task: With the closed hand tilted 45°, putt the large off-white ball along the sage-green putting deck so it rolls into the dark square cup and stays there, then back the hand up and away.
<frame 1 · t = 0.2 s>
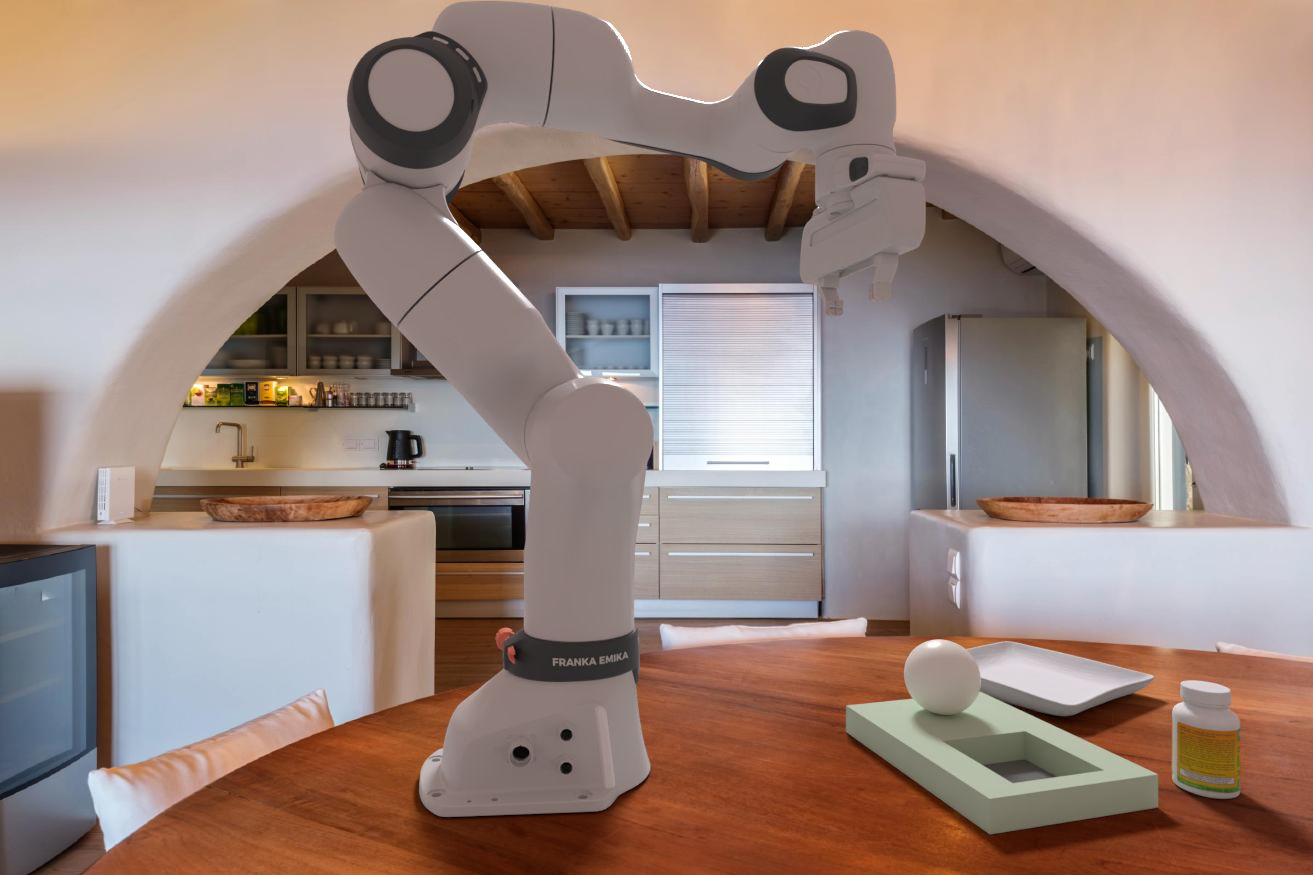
hand: (855, 309, 88), 48 cm above the table, tool pointing down, fingers open, 8 cm apart
salad plate: (1034, 693, 105), on the table
supplement bottle: (1205, 789, 75), on the table
ball: (941, 676, 87), point 7 cm above the table, touching putting deck
putting deck: (984, 765, 80), on the table
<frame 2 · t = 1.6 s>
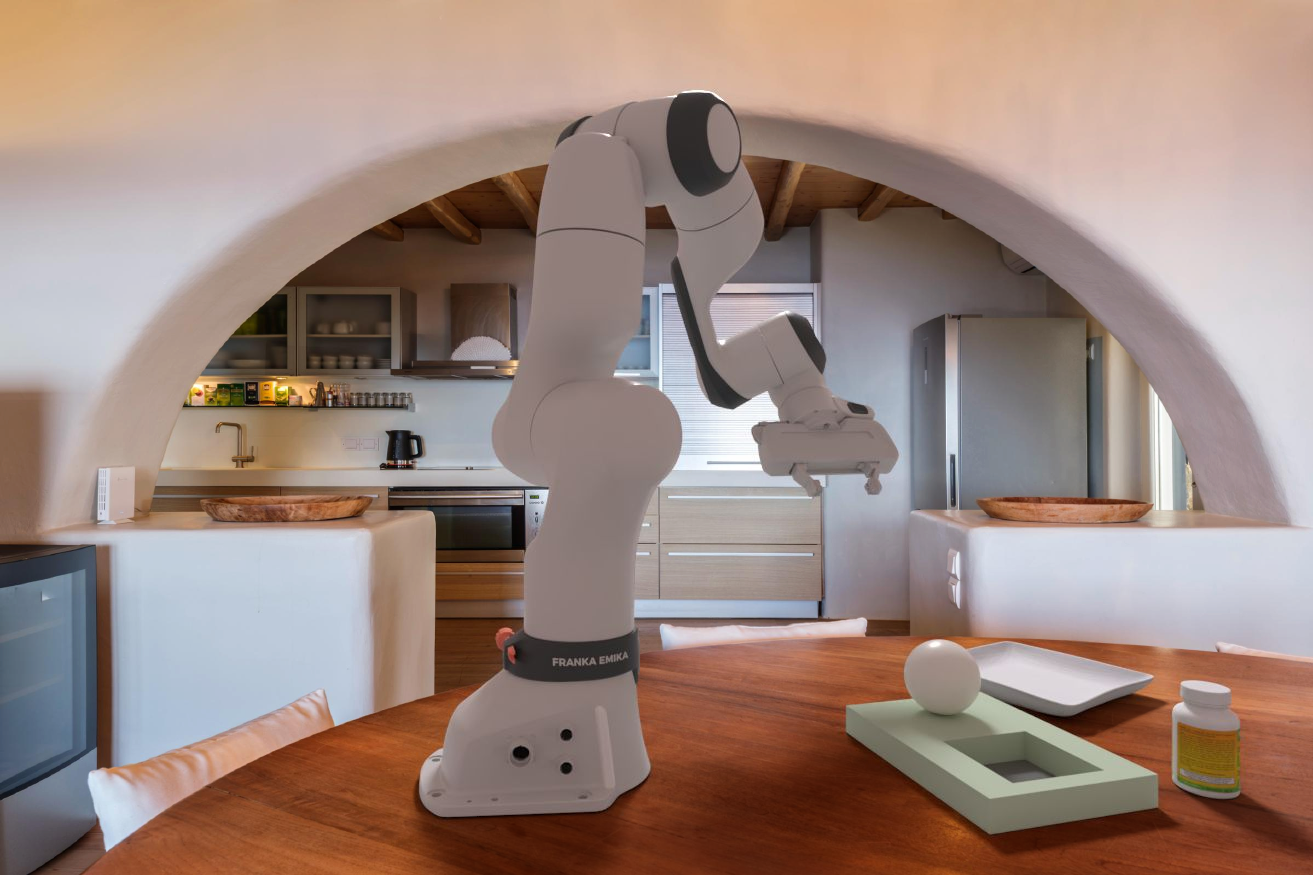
hand: (846, 493, 107), 26 cm above the table, tool tilted 45°, fingers open, 8 cm apart
nothing on the table moved.
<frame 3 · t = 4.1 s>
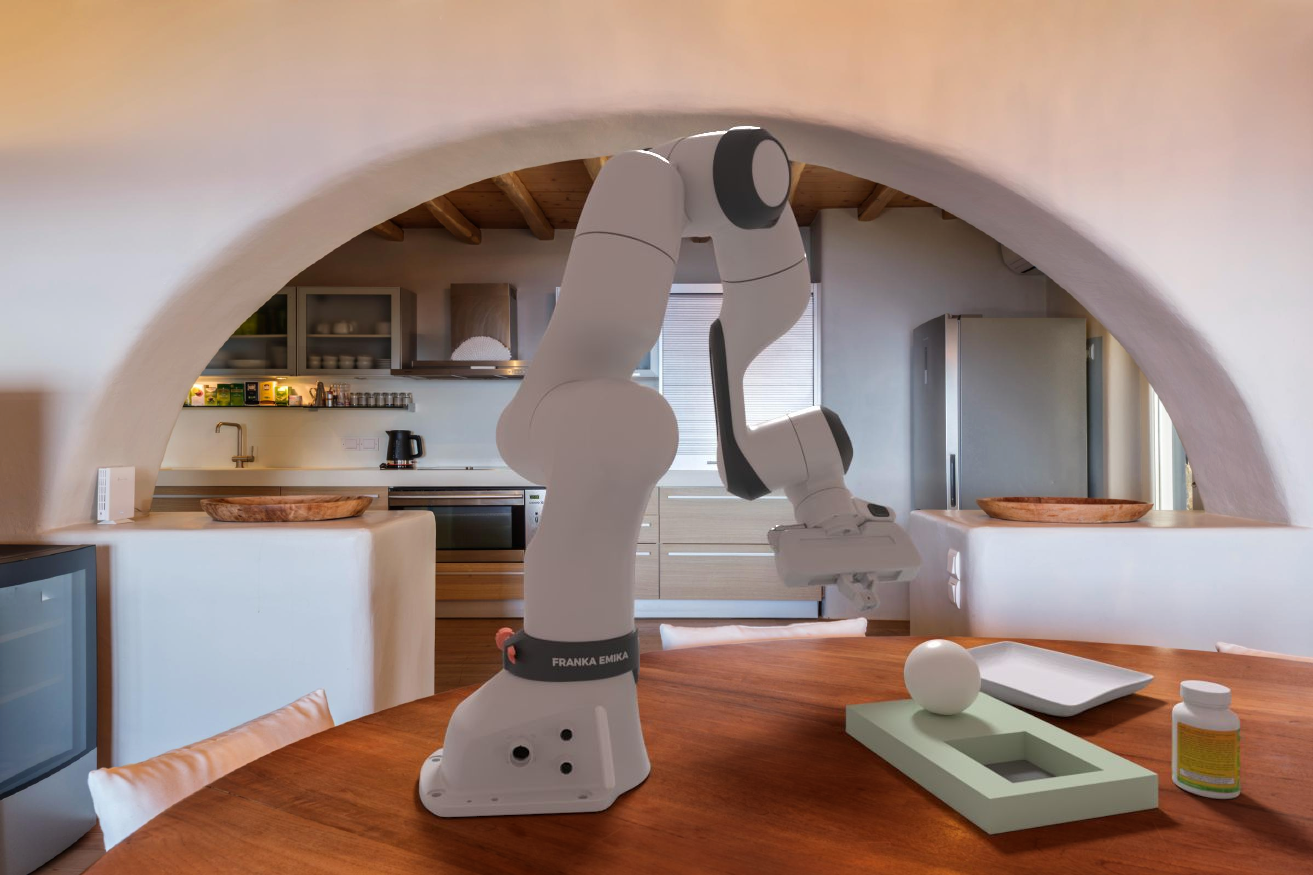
hand: (868, 607, 102), 11 cm above the table, tool tilted 45°, fingers closed
nothing on the table moved.
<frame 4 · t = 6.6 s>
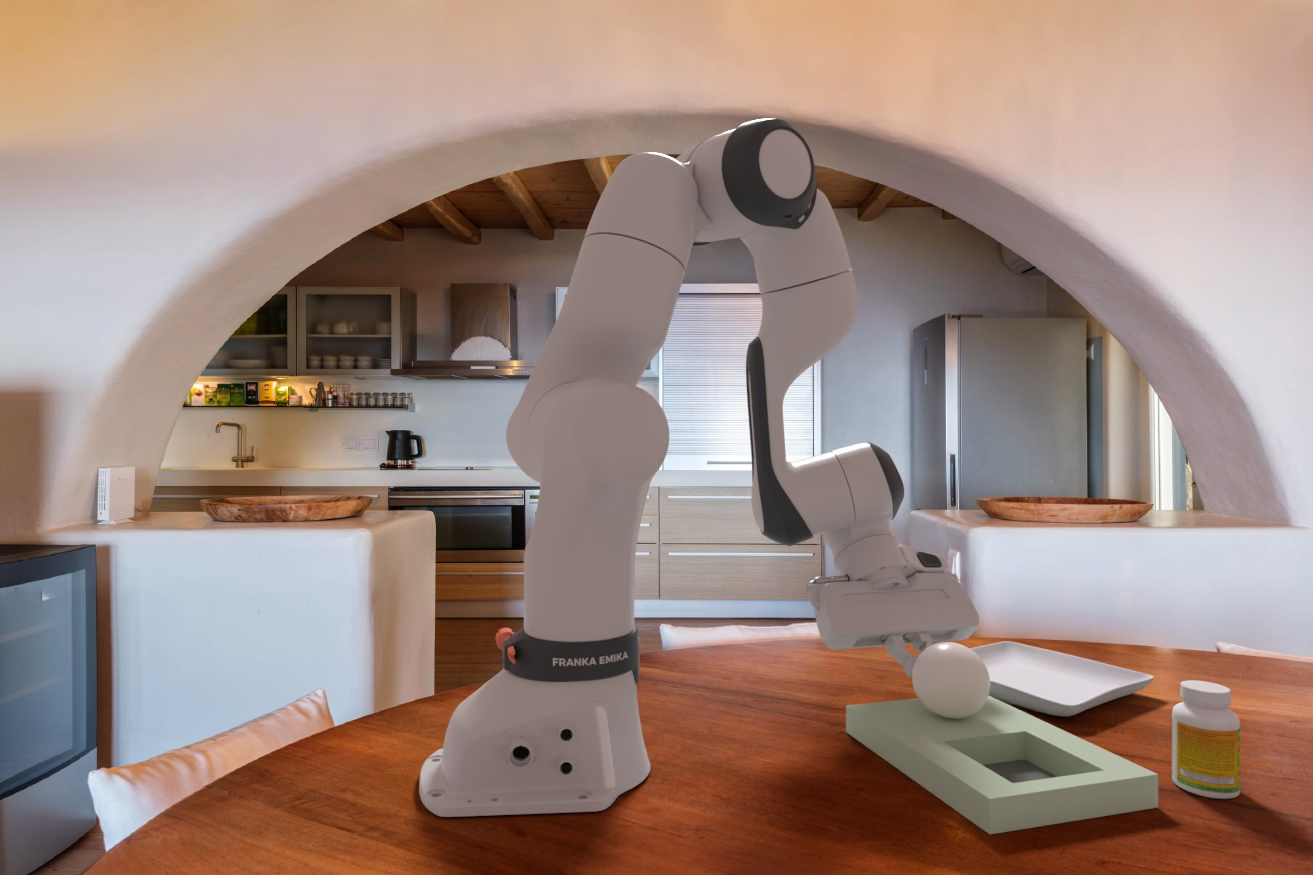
hand: (922, 673, 90), 6 cm above the table, tool tilted 45°, fingers closed
ball: (950, 679, 86), point 7 cm above the table, tilted 17°, touching putting deck
everything else where it was.
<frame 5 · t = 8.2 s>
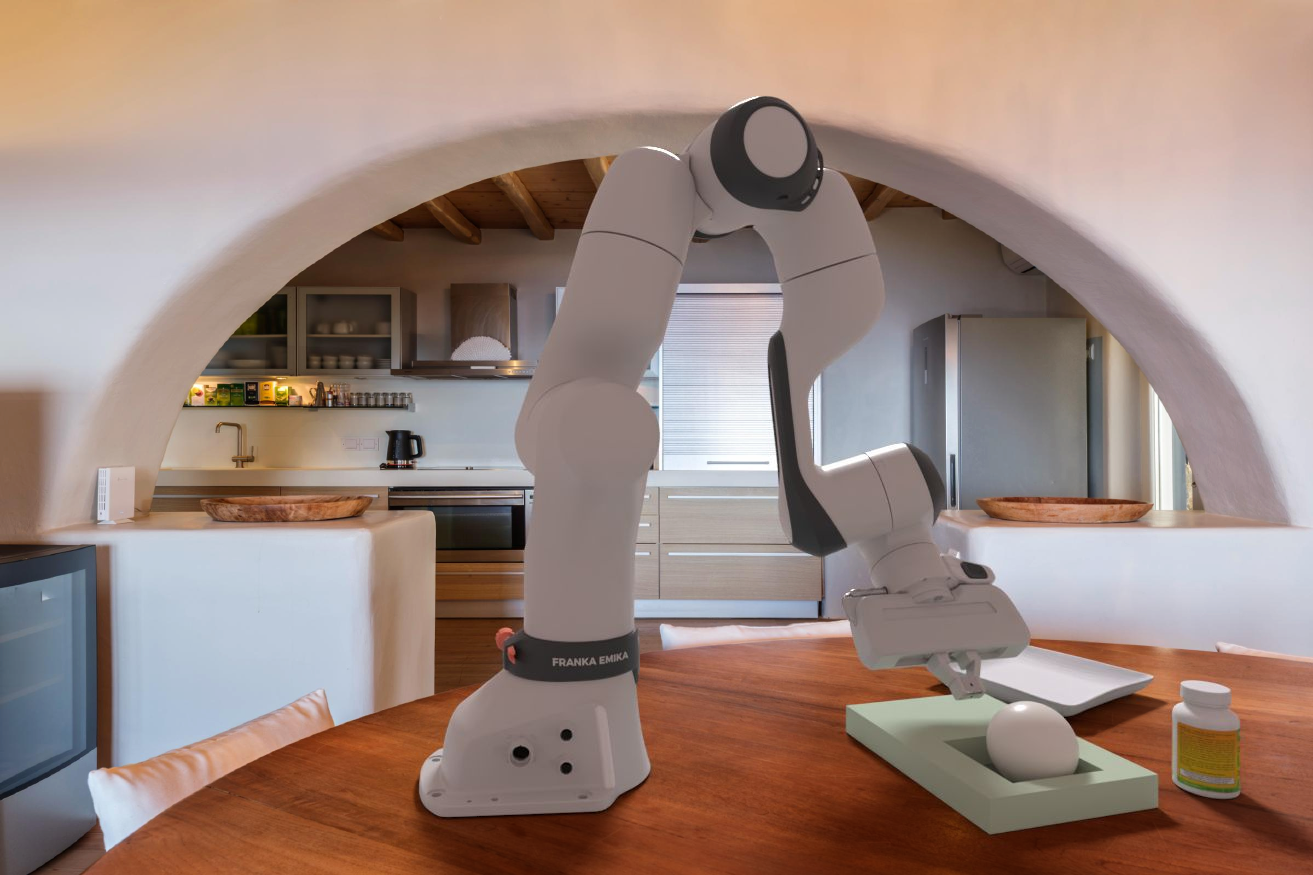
hand: (971, 696, 82), 6 cm above the table, tool tilted 45°, fingers closed
ball: (1031, 745, 75), point 4 cm above the table, tilted 157°, touching putting deck
everything else where it was.
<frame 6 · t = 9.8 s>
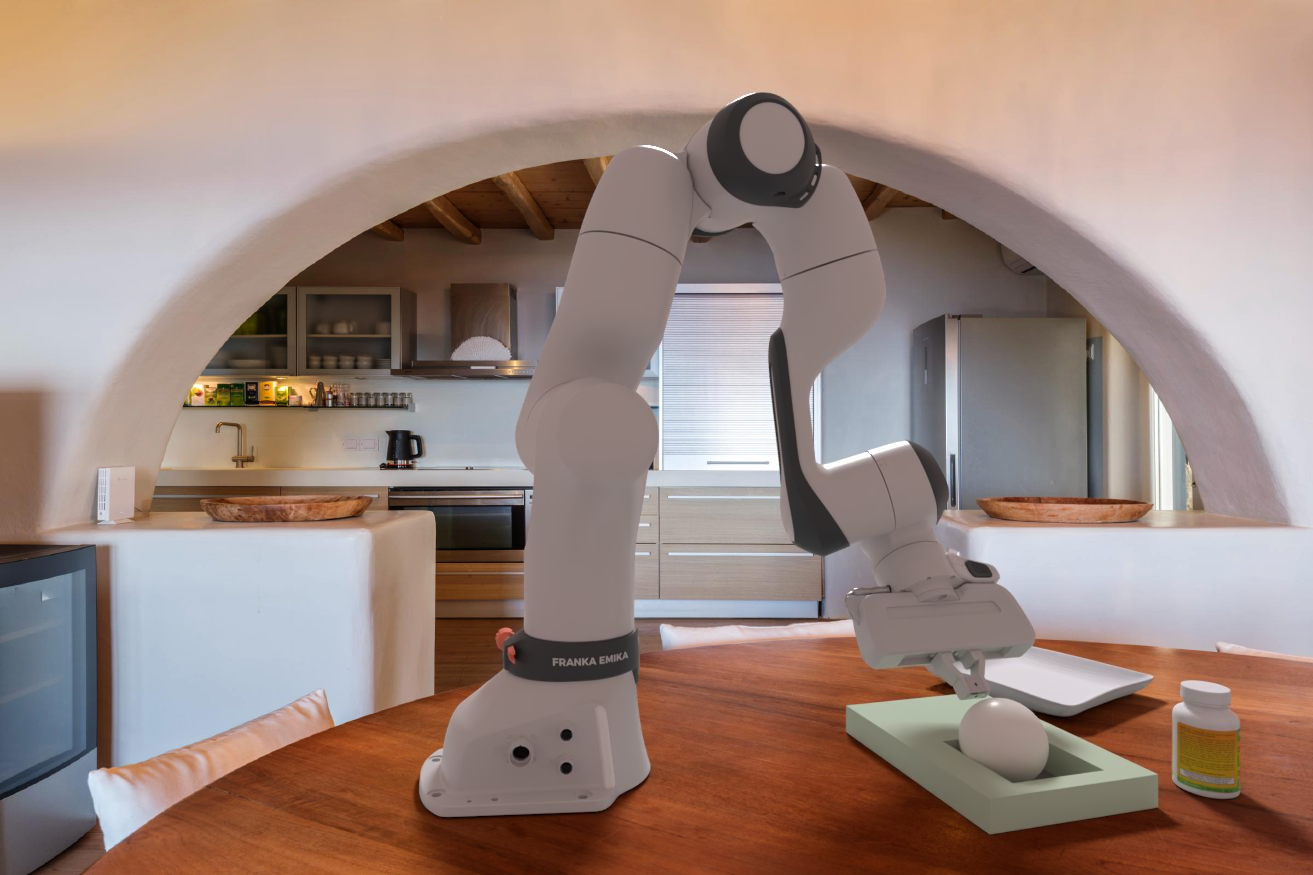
hand: (975, 696, 81), 7 cm above the table, tool tilted 45°, fingers closed
ball: (1002, 740, 76), point 4 cm above the table, tilted 132°, touching putting deck
everything else where it was.
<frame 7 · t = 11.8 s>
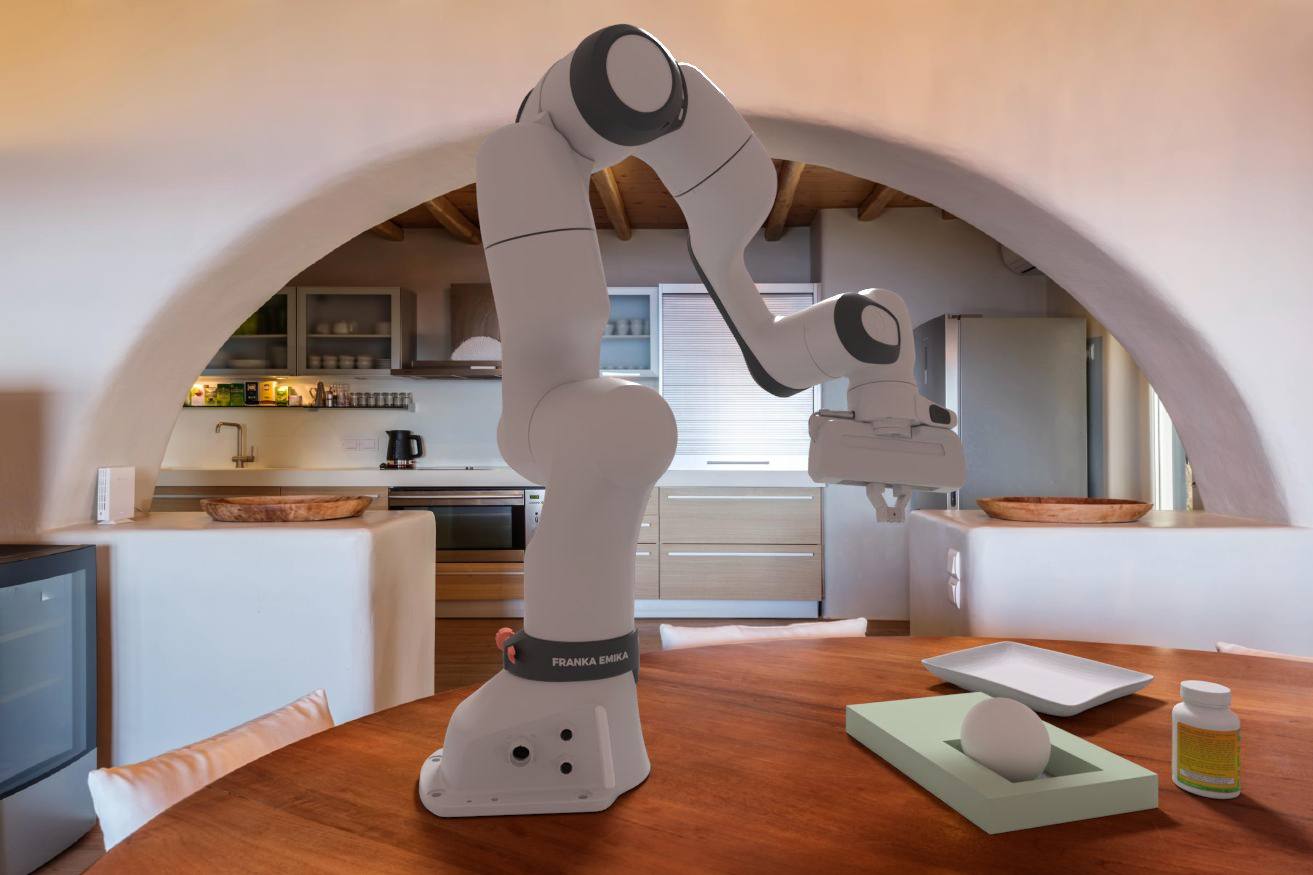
hand: (891, 523, 96), 23 cm above the table, tool tilted 15°, fingers closed
nothing on the table moved.
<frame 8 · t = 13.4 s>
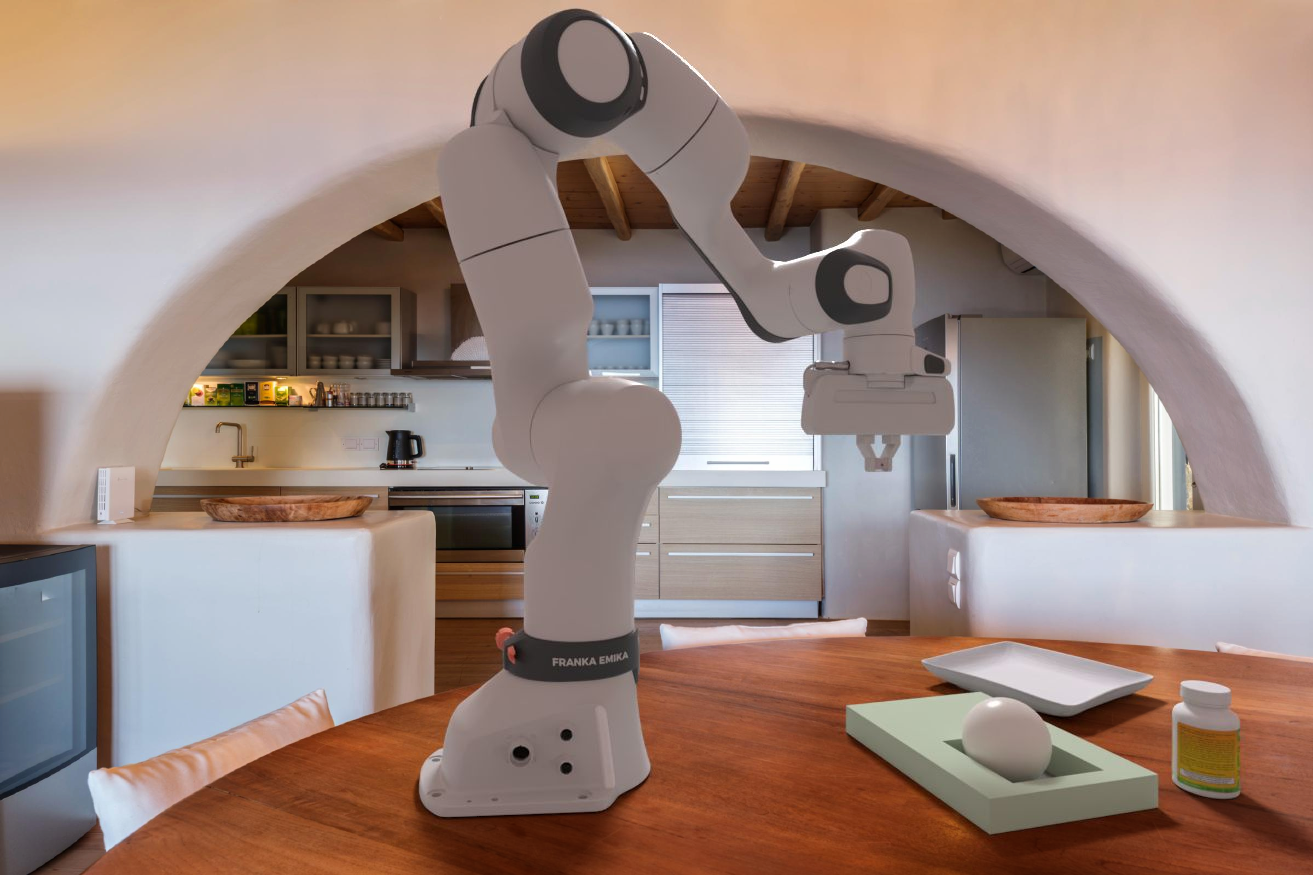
hand: (878, 471, 100), 29 cm above the table, tool pointing down, fingers closed
nothing on the table moved.
at the end: ball 1.3 cm from the target spot on the putting deck, point 4.1 cm above the putting deck's base; ball moved 11.5 cm from its start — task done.
